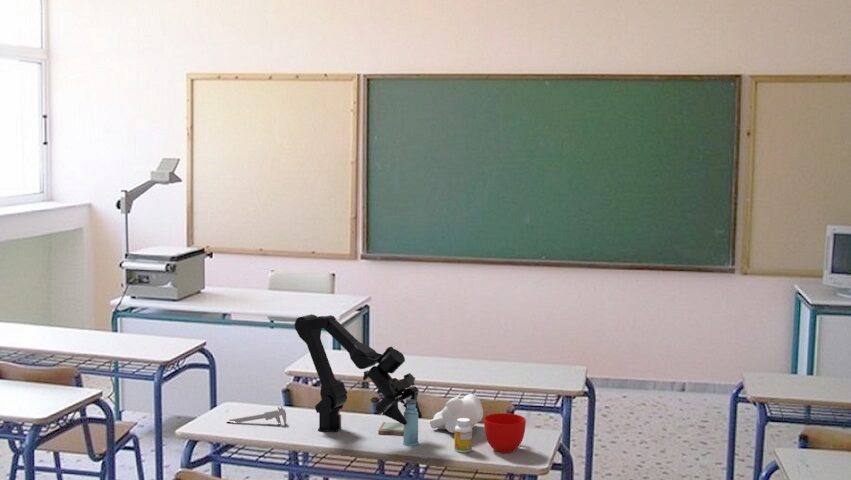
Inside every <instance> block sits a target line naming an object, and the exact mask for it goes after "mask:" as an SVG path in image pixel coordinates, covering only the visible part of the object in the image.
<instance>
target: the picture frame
mask: <svg viewBox="0 0 851 480" xmlns="http://www.w3.org/2000/svg"><path fill="white" fill-rule="evenodd" d="M377 432H378V435H389V436H390V435H393V436H404V425H403V424H402V423H400V422H392V421H391V422H387V421H383V422H382V423H381V426H380V427H379V428H378V431H377Z"/></svg>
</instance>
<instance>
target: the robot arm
mask: <svg viewBox="0 0 851 480" xmlns="http://www.w3.org/2000/svg"><path fill="white" fill-rule="evenodd" d="M294 329H295V331H296V333H297V334H298V337H299V338H300V339H301V340H302V341H303V342H304V343H305V344H306V346H307V349H308V352H309V354H310V357H311V360H312V363H313V365H314V368H315V371H316V373H317V376H318V379H319V382H320V392H319V393H320V399H321V400H320V401H319V402H318V403H317V404H316V405H315V406H314V407H315V412H316V414H319V416H318V418H319V419H318V420H319V425H318V426H319V427H318V429H317V431H320V432H338V431H339V430H340V429H341V427H342V414H341V412H340V411H341V410H343V407H344V405H345V404H346V402H347V399H348V393H349V392H348V391H347V389H346V387H345V383H344V381H340V382H339V381H338V380H337V379H336V377H335V374H334V373H333V369H332V366H331V364H330V360H329V359H328V356H327V353H326V351H325V348H324V344H323V343H322V338H321V336H322V334H321V333H322V329H323V330H324V331H326V332H327V333H328V334H329V335H330V336H331V337H332V339H334V340H335V341H336V342H337V343H338V344H340V346H341V347H342V348H343V349H345V351H346V352H347V353H348V355H349V358H350V360H351V361H352V363H353V365H355V367H356V368H357V369H359V370H365V369H368V368H369V370H365V371H363V377H362V380H363V381H367V380H369V379H370V381H371V382H372V383H373V384H374V386H375V387H376V389H377V391H376V393H377V394H378V395H380V394H381V395H382V396H383V398H382V399H380V400H379V401H378V402H377V404H375V412H376V413H377V414H378V415H382V416H385V417H386V418H387V417H388V418H390V419H392V420H394V421H396V422H397V423H402V424H403V425H406V424H407V421H406V420H405V418H404V414H403V413H402V412H401V410H400V409H399V403H401V404H403V405H402V406H403V407H404V409H406V408H407V403H406V400H408V399H414V400H416V409H417V412H418V419H421V418H422V412H421V409H420V407H419V404H418V396H419V392H420V389H419V388H418V387H417V386H416V385H415V382H416V377H414V375H413V374H412V373H411V372H410V373H407V374H404V376H403V378H401V379H397V378H396V377H394V378H393V377H392V376H391V374H393V373H395V372H396V371H397V370H398V369H399V368H401V366H402V365H403V364H404V363H405V361H406V359H405V356H404V354H403V353H402V352H401V351H399V350H397V349H395V348H394V347H393V346H388V347H387V348H386V349H385V351H384V352H383V353H378V352H377V351H376V350H375V349H374V348H372V347H370V346H369V345H368V344H365V343H362V342H360V341H359V340H358V339H357V338H356V337H354V336H353V335H352V333H350V332H349V331H348V330H347V328H345V327H344V326H343V325H342V324H341V323H340V322H339V321H338V320H337V319H336V317H335V316H334V315H321V316H317V315H315V314H312V313H311V314H308V315H304V316H303V315H302V316H299V317H297V318H296V320H295V322H294ZM376 364H377V365H376Z"/></svg>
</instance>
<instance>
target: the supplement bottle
mask: <svg viewBox="0 0 851 480" xmlns="http://www.w3.org/2000/svg"><path fill="white" fill-rule="evenodd" d="M457 424H458V425H457V426H456V427H455V433H454V446H453V447H454V451H456V453H457V452H458V453H469V452H471V451H472V448H473V446H472V445H473V431H472V430H473V428H472V427H471V426H469V425H470V419H468V418H459V419H457Z"/></svg>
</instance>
